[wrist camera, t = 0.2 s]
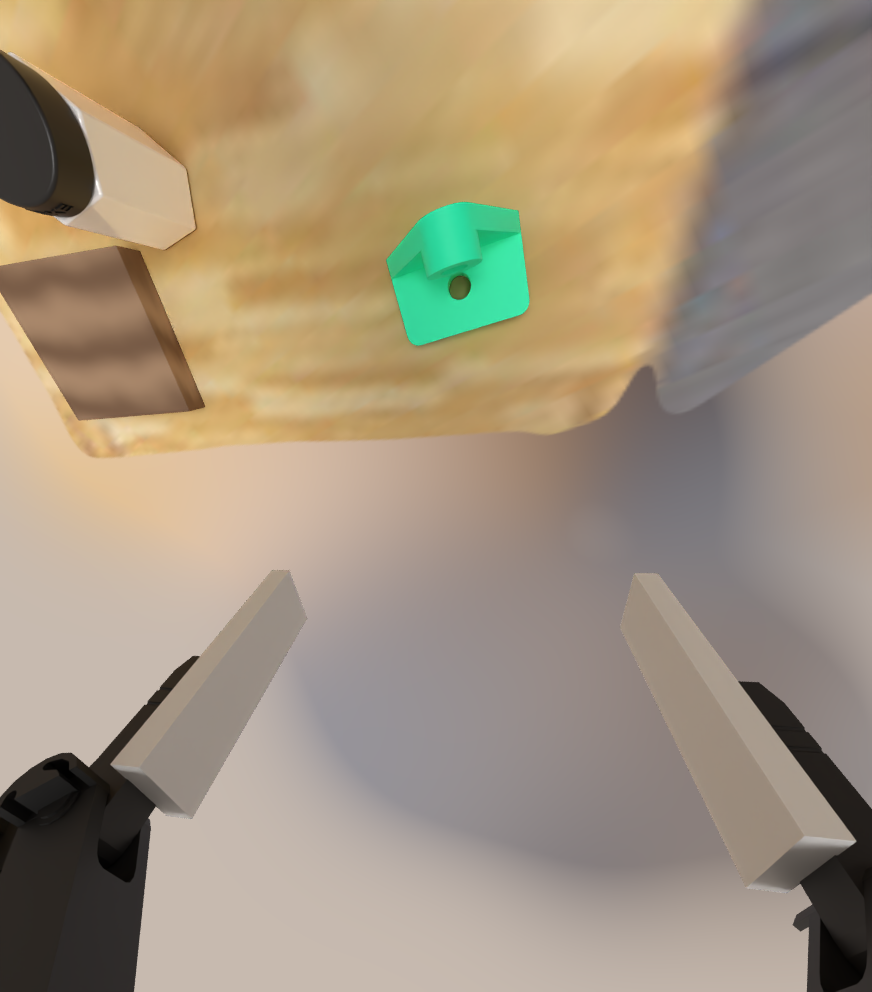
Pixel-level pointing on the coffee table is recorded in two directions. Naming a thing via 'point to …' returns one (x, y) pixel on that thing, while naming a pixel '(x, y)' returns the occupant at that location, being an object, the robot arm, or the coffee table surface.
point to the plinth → (101, 333)
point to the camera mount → (459, 270)
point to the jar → (86, 162)
